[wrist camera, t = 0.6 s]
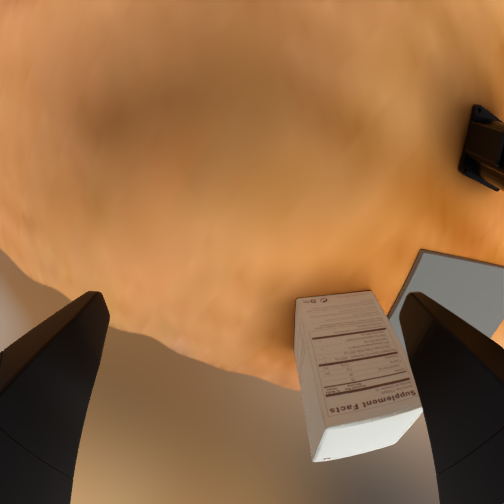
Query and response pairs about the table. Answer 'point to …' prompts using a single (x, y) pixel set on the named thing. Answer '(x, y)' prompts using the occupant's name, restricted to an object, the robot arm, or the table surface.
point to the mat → (456, 290)
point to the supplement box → (352, 375)
